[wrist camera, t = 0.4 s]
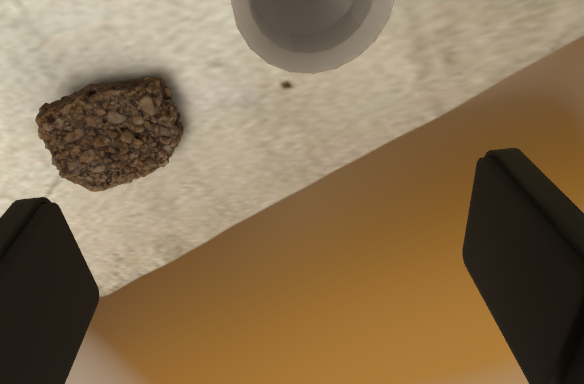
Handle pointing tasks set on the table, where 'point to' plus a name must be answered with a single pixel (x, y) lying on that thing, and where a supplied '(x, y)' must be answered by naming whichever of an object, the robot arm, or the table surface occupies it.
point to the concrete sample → (111, 132)
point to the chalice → (310, 30)
